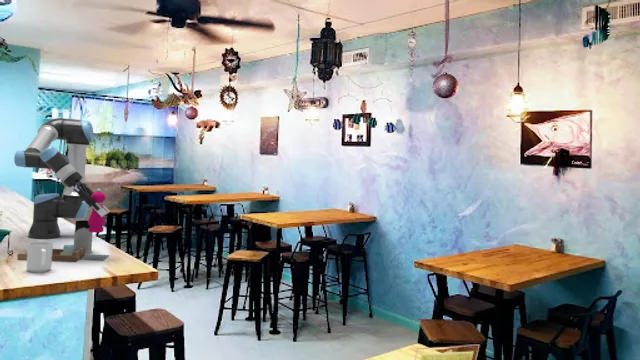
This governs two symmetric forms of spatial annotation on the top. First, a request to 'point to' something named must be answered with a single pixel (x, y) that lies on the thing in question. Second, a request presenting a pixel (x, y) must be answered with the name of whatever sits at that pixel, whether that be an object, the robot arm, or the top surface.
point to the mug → (39, 256)
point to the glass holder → (83, 236)
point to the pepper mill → (95, 218)
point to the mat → (94, 257)
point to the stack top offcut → (68, 249)
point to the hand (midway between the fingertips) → (105, 214)
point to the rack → (58, 257)
